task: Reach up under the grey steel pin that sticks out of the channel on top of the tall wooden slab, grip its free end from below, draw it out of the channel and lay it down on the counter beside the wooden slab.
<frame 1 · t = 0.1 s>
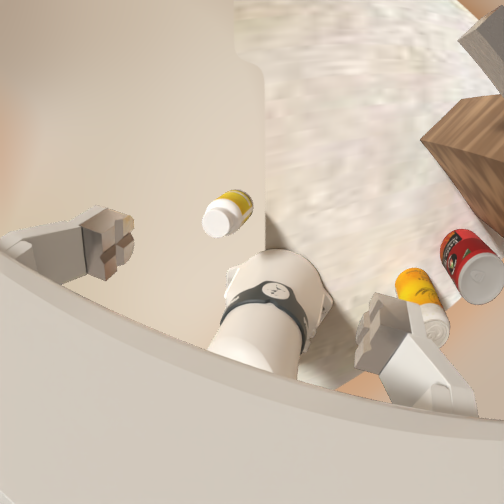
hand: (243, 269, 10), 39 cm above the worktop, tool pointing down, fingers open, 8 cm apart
wooden slab: (470, 157, 38), on the worktop
canned food: (459, 249, 44), on the worktop
supplement bottle: (237, 204, 51), on the worktop
beer can: (411, 281, 48), on the worktop
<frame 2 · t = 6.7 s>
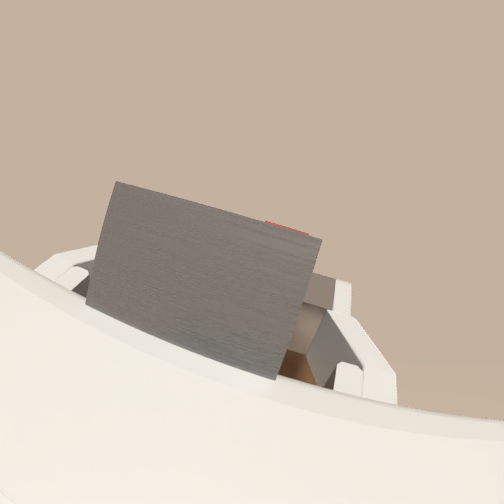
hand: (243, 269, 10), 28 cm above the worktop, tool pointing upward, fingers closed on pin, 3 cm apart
pin: (247, 312, 15), point 26 cm above the worktop, touching wooden slab, gripper
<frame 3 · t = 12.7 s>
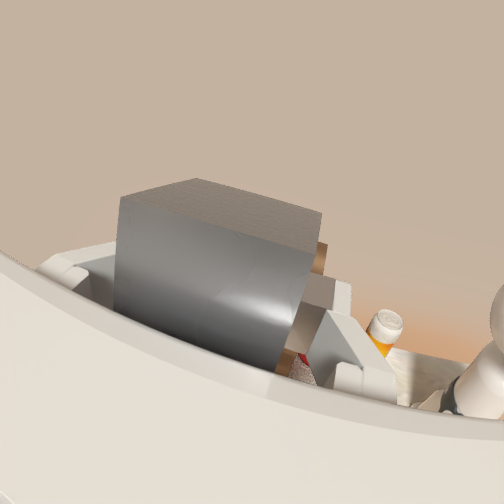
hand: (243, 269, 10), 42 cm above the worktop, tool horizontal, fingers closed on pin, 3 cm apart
wooden slab: (250, 377, 55), on the worktop
pin: (168, 494, 9), point 35 cm above the worktop, tilted 101°, touching gripper
beer can: (358, 371, 60), on the worktop
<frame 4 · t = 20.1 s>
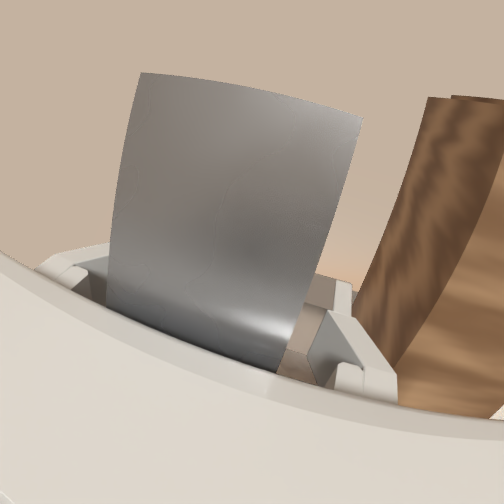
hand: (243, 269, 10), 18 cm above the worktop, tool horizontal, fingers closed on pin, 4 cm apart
wooden slab: (377, 400, 27), on the worktop
pin: (163, 477, 8), point 14 cm above the worktop, tilted 102°, touching gripper
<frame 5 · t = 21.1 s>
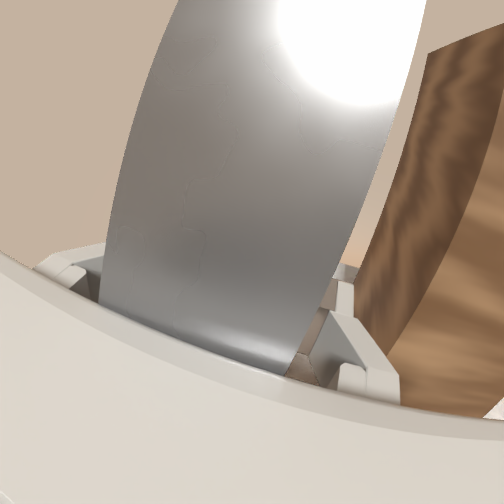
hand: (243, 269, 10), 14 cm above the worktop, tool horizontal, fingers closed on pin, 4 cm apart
wooden slab: (386, 377, 25), on the worktop
pin: (163, 418, 6), point 14 cm above the worktop, tilted 103°, touching gripper
when the fingers open (13 cm above the worktop, at t = 22.2 s): pin drops 1 cm and tips over, point 13 cm above the worktop.
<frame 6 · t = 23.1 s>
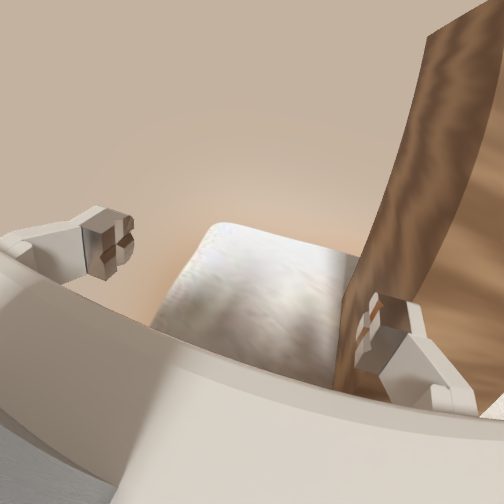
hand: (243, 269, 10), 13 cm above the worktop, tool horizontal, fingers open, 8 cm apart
wooden slab: (390, 365, 24), on the worktop
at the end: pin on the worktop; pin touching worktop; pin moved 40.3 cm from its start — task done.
